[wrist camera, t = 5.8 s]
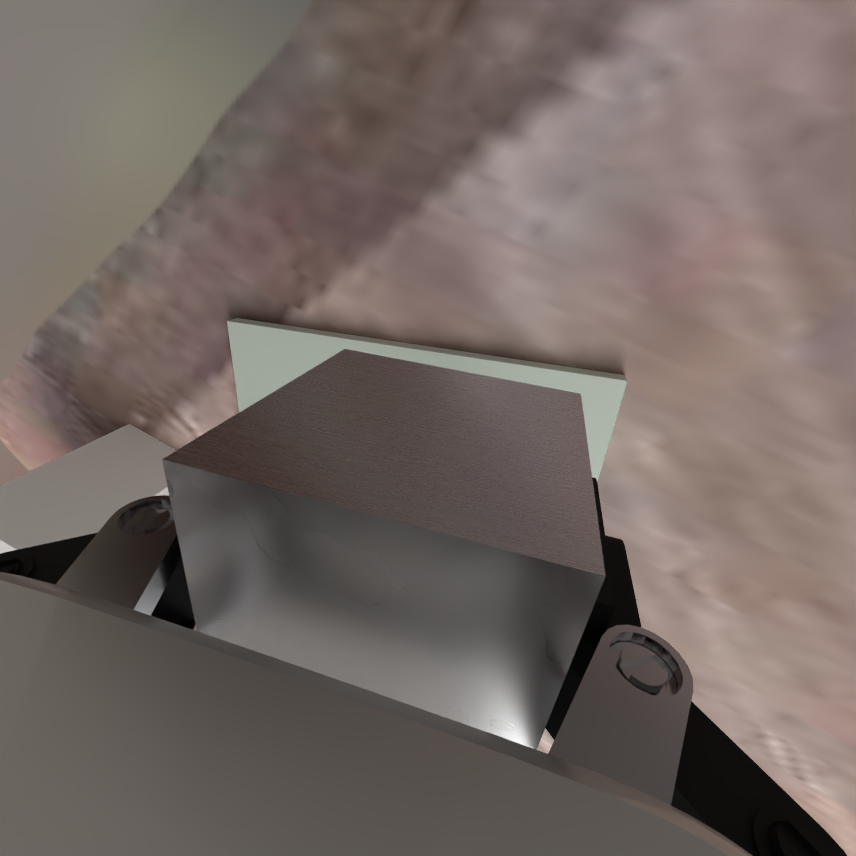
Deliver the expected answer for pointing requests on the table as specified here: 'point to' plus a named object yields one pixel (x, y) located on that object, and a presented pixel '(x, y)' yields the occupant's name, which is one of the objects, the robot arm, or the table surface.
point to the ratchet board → (306, 348)
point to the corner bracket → (81, 489)
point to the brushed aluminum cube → (400, 535)
